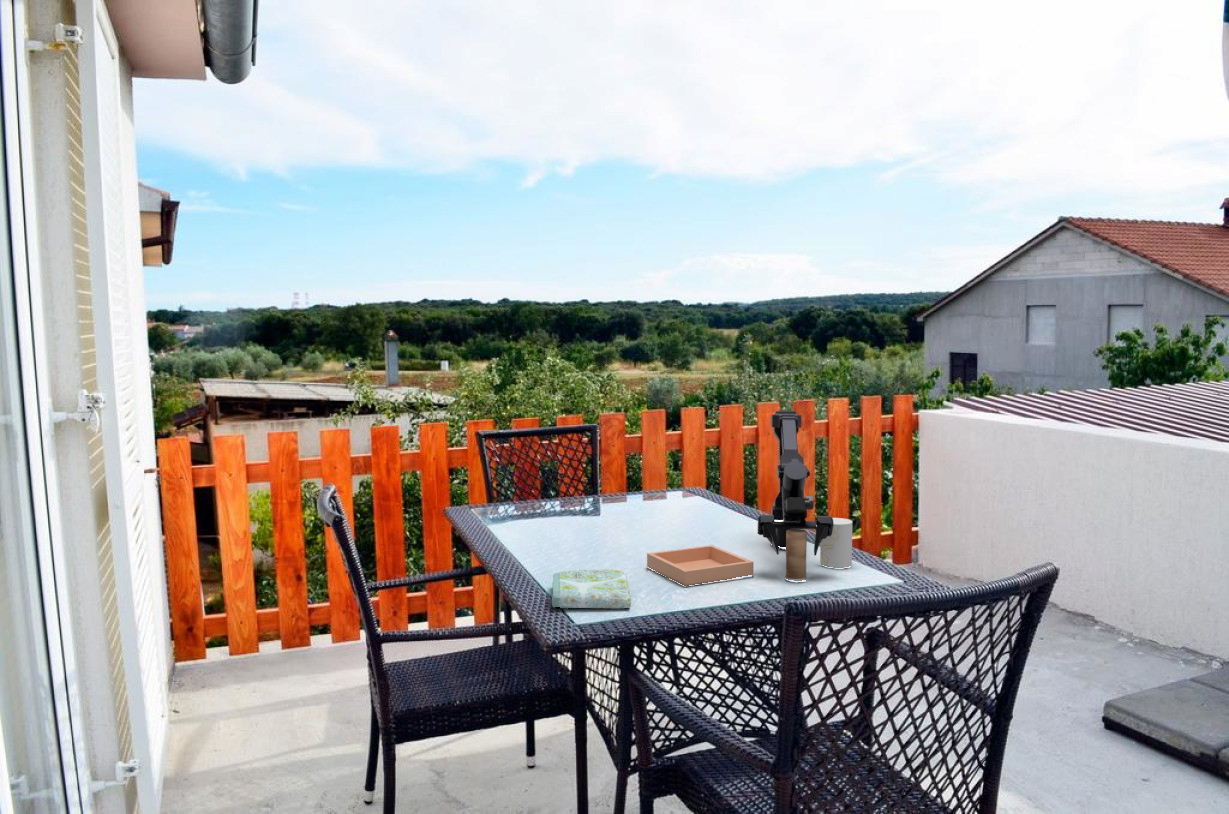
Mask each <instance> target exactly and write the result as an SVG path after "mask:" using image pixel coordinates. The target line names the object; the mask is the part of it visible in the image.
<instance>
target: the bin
mask: <svg viewBox="0 0 1229 814" xmlns="http://www.w3.org/2000/svg"><path fill="white" fill-rule="evenodd" d="M754 563H755V562H754V561H752V560H750V559H747V558H745V557H742V556H740V555H738V554H735V553H732V552H730V551H727V550H726V549H723V548H720V547H718V546H715V545H713V544H711V545H710V544H709V545H702V546H692V547H686V548H679V549H677V548H676V549H671V550H665V551H664V550H662V551H655V552H648V553H647V552H646V568H647V567H649V568H651V569H653V570H655V571H656V572H658V573H660V574H662V575H664V576H666V577H668V578H670V579H672V580H674V581H676V582H678V583H680V584H682V585H684V586H689V585H695V584H702V583H708V582H714V581H720V580H727V579H732V578H736V577H742V576H748V575H753V576H754V569H755V568H754Z"/></svg>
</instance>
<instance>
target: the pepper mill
mask: <svg viewBox="0 0 1229 814" xmlns="http://www.w3.org/2000/svg"><path fill="white" fill-rule="evenodd" d="M807 532H808V531H807V530H806V529H790V530H787V531H786V550H785V578H786V579H788V580H794V581H802V580H806V581H807V579H808V578H807V544H808V543H807V541H808V540H807V534H808V533H807Z"/></svg>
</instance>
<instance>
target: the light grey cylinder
mask: <svg viewBox="0 0 1229 814" xmlns="http://www.w3.org/2000/svg"><path fill="white" fill-rule="evenodd" d="M832 518H833V524H834V525H833V530H832V535H831V536H827V538H826V539H822V541H821V543H820V545H819V547H820V551H819V552H820V556H819V558H820V559H819V563H820V564H821V565H824V566H827V567H833V568H844V567H849V566H851V565H852V564H853V559H852V558H853V520H851V519H849V518H843V517H842V518H841V517H832ZM820 564H819V565H820Z"/></svg>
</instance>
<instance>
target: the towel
mask: <svg viewBox="0 0 1229 814" xmlns="http://www.w3.org/2000/svg"><path fill="white" fill-rule="evenodd" d="M631 597H632V596H631V591H630V587H629V580H628V575H627V573H625V572H624V571H622V570H618V569H609V568H608V569H595V568H594V569H590V568H588V569H587V568H585V569H573V570H566V571H565V570H564V571H560V572H555V573H553V577H552V596H551V605H552V607H553V608H555V607H560V608H559V609H568V608H630V609H631V605H632V598H631Z"/></svg>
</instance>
